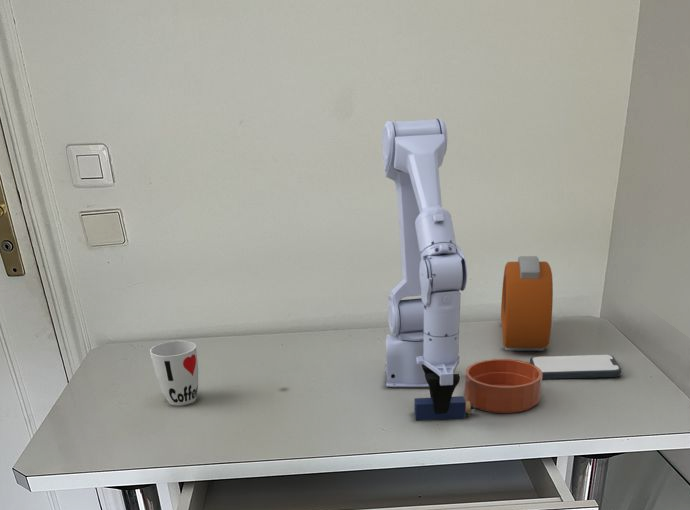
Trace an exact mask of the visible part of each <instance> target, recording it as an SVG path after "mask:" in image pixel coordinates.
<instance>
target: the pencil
mask: <svg viewBox="0 0 690 510" xmlns="http://www.w3.org/2000/svg"><path fill="white" fill-rule="evenodd" d="M413 401H414V402H413V403H414V405H413V407H414V408H413V409H414V411H413V412H414V419H415V421H417V422H418V421H432V420H433V421H434V420H454V419H455V420H456V419H465V418H466V414H470V413H471V410H474V409H475V407H474V404H470V401H467V400H466V399H465V396H464V395H459V396H452V397H451V401H450V405H449V409H448V412H447V413H442V414H435V411H434V408H433V402H432V398H431V397H420V398H419V397H417V398H414V400H413Z"/></svg>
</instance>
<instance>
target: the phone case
mask: <svg viewBox="0 0 690 510" xmlns="http://www.w3.org/2000/svg"><path fill="white" fill-rule="evenodd" d="M529 363H530V364H532V365H535V366H537V367H538V368H539V369H540V370H541V371H542V374H543V377H542V380H552V379H556V380H557V379H585V378H587V379H589V378H590V379H591V378H616V377H620V376H621V374H622V368H621V366H620V365H619V363H618V362H617V360H616V358H615V356H613V355H611V354H587V355H585V354H583V355H582V354H581V355H554V356H553V355H551V356H549V355H548V356H532V357H531V358H529Z"/></svg>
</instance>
